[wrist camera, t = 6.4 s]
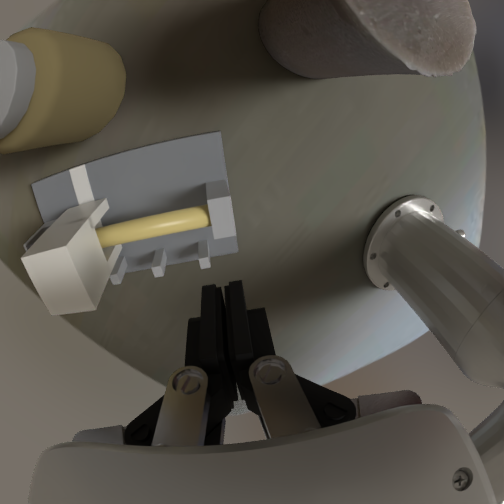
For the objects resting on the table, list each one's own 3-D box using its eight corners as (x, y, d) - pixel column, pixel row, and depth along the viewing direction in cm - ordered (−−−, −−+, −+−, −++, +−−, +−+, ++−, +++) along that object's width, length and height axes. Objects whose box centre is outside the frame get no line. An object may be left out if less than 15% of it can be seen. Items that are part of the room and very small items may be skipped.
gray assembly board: (219, 130, 21) (226, 138, 16) (237, 246, 27) (247, 284, 22) (36, 181, 20) (1, 204, 14) (72, 277, 25) (52, 315, 20)
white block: (106, 197, 20) (66, 245, 13) (122, 247, 23) (96, 310, 15) (67, 208, 20) (20, 258, 13) (85, 255, 22) (51, 315, 15)
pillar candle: (252, -15, 15) (314, -114, 2) (354, -5, 16) (471, -46, 3) (264, 82, 20) (357, 59, 7) (366, 83, 21) (501, 97, 8)
